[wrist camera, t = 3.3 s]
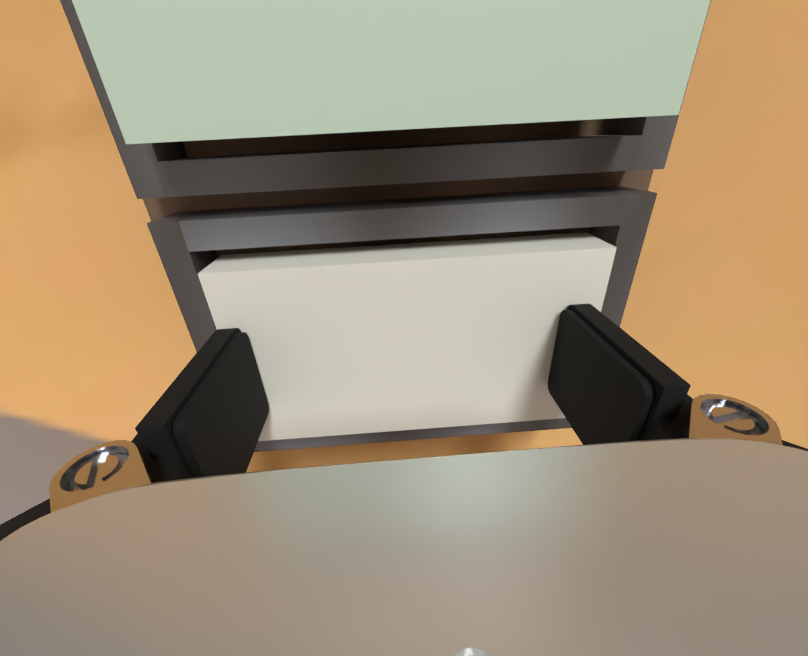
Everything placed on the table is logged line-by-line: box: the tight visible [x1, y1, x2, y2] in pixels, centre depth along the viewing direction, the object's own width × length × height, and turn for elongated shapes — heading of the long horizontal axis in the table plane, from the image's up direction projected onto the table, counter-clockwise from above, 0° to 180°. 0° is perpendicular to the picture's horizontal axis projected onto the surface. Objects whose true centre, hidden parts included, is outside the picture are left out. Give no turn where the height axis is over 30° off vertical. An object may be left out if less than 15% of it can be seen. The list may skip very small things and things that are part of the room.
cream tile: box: [198, 232, 617, 441], centre depth 12 cm, size 11×6×2 cm, turn 93°
